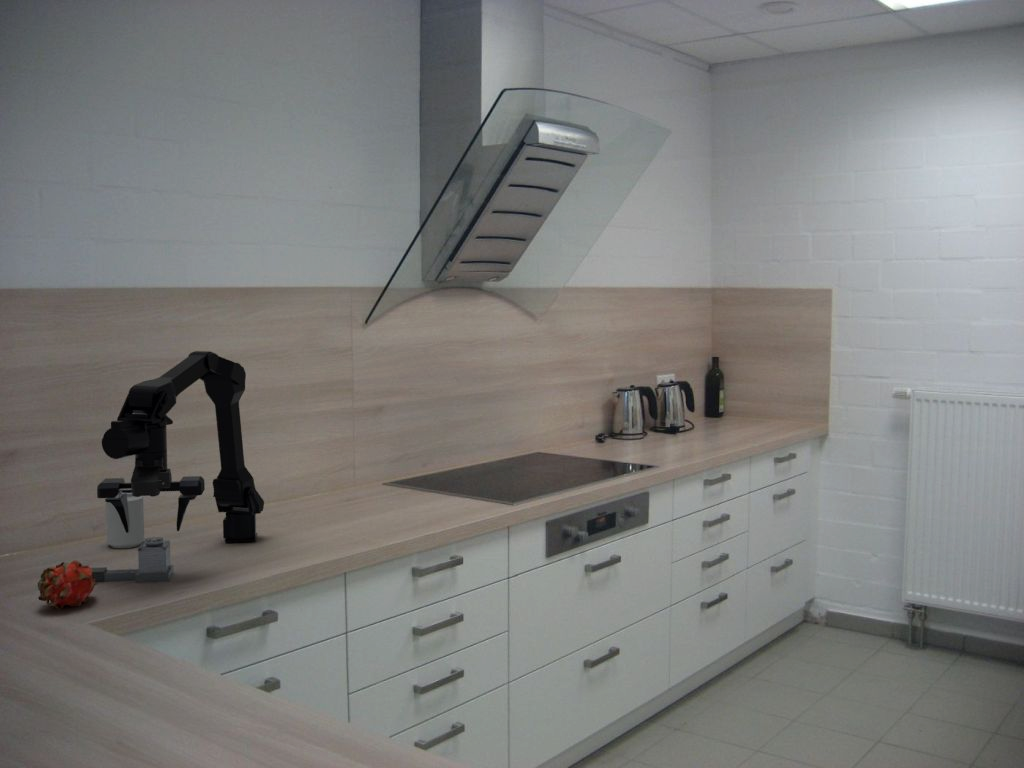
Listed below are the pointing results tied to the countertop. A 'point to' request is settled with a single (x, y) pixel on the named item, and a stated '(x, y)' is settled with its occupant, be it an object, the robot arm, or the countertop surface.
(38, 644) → the countertop surface
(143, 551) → the dark grey block
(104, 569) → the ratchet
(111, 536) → the can
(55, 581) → the dragon fruit
